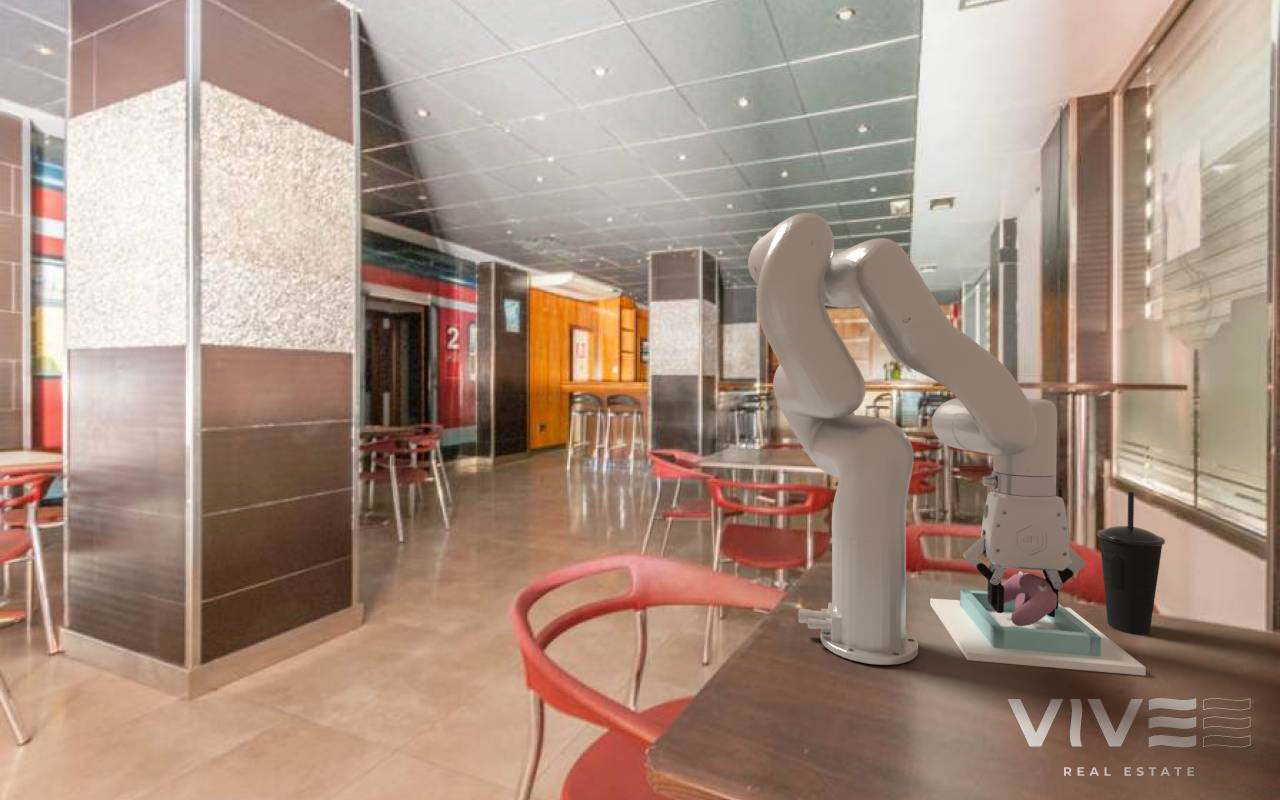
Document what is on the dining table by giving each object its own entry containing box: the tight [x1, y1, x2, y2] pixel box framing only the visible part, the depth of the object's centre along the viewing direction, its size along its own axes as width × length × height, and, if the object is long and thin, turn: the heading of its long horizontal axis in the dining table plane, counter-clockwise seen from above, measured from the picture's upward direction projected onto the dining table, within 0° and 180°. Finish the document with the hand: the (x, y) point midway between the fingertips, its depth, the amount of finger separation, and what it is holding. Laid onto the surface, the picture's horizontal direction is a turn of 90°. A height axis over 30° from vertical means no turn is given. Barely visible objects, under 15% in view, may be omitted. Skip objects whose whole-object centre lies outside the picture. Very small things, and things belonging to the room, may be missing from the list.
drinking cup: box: [1096, 491, 1166, 635], centre depth 88 cm, size 8×8×20 cm
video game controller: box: [1001, 570, 1057, 626], centre depth 86 cm, size 10×5×7 cm, turn 168°
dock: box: [930, 589, 1147, 677], centre depth 86 cm, size 20×20×4 cm
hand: (1022, 610), depth 86 cm, fingers closed on video game controller, 5 cm apart
